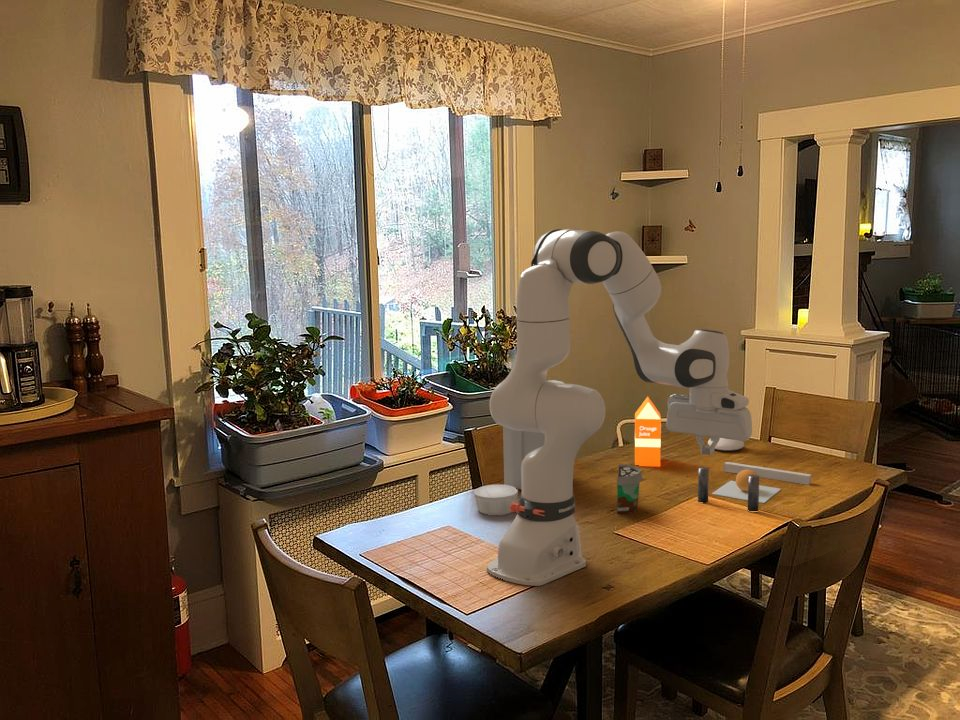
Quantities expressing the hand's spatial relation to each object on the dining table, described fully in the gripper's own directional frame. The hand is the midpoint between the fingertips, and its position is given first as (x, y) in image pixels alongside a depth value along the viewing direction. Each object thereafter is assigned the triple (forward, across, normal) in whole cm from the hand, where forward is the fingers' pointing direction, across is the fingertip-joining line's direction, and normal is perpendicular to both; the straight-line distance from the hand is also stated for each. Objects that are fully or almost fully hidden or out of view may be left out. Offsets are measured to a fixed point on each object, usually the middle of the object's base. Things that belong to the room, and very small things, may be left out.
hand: (707, 453), depth 194 cm
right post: (+17, +6, +15) cm, 23 cm away
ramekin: (+18, -48, -20) cm, 55 cm away
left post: (+17, -7, +15) cm, 23 cm away
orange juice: (+16, -35, +41) cm, 56 cm away
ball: (+14, 0, +29) cm, 32 cm away
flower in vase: (+16, -21, +68) cm, 73 cm away
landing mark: (+16, 0, +29) cm, 33 cm away
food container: (+17, -20, 0) cm, 27 cm away
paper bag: (+17, -49, +5) cm, 52 cm away
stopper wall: (+16, 0, +45) cm, 47 cm away
